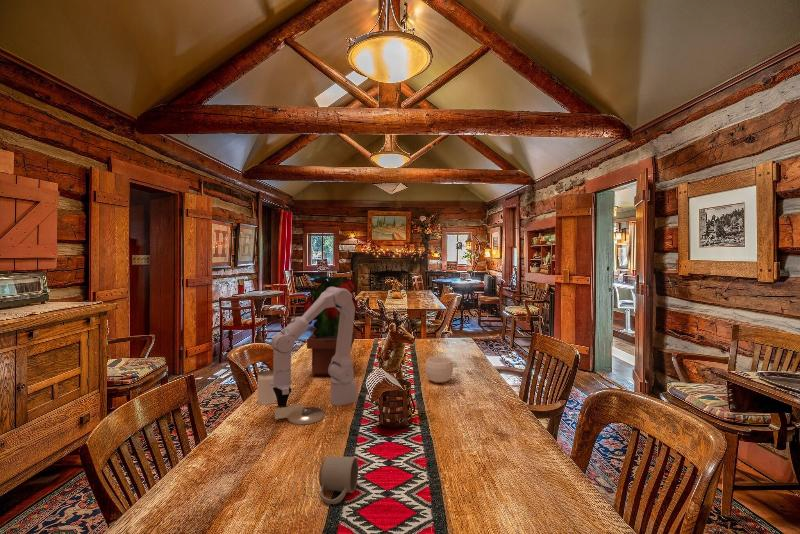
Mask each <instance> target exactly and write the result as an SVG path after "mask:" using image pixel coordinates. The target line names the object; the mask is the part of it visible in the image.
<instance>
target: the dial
mask: <svg viewBox="0 0 800 534" xmlns="http://www.w3.org/2000/svg"><path fill="white" fill-rule="evenodd" d="M324 417H325V412H324V410H323V409H322V408H319V407H316V406H304V404H303V403H294V404H287V405H286V406H281V407H279V406H278V405H275V406H274V419H275V420H279V419H286V420H287V422H289V423H290V424H293V425H295V426H296V425H298V426H305V425H306V426H307V425H312V424H316V423H318V422H320V421H322V420H323V419H324Z"/></svg>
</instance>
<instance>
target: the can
mask: <svg viewBox="0 0 800 534" xmlns="http://www.w3.org/2000/svg"><path fill="white" fill-rule="evenodd" d="M271 382H273V370H262V371H260V372H259V373H258V376H257V404H258V405H263V406H264V405H265V406H266V405H271V404H274V403H276V402H277V398H276V395H275V392H274V390H273V388H274V386H270V383H271Z"/></svg>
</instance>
